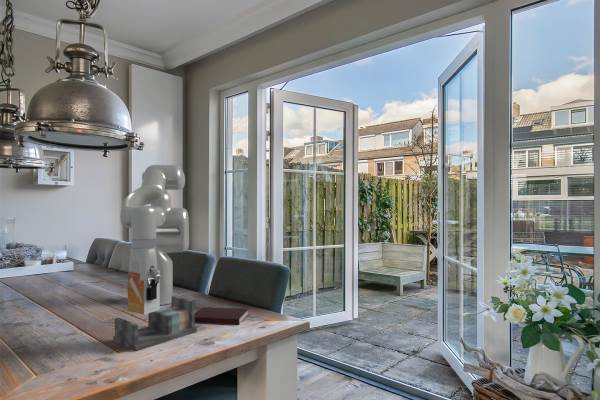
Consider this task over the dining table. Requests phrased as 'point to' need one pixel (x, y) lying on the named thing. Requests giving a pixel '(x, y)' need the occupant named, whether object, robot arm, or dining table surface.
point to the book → (221, 315)
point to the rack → (158, 326)
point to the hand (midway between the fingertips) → (143, 297)
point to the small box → (141, 295)
